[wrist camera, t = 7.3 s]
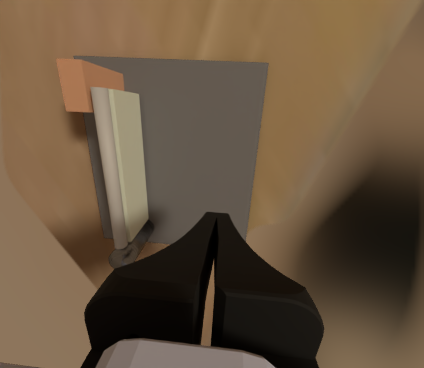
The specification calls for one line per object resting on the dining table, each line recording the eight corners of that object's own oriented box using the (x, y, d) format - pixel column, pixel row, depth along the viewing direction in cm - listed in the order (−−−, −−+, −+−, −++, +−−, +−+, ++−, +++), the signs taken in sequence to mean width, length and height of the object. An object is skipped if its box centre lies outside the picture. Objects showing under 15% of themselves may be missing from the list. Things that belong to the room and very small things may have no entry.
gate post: (156, 233, 22) (132, 272, 17) (139, 231, 23) (110, 269, 17) (155, 217, 22) (130, 253, 16) (137, 216, 22) (107, 251, 16)
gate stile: (126, 112, 18) (89, 112, 13) (109, 111, 18) (66, 110, 13) (122, 74, 17) (81, 59, 12) (104, 73, 17) (55, 58, 12)
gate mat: (244, 248, 22) (244, 251, 22) (106, 235, 23) (104, 238, 23) (267, 64, 16) (268, 62, 15) (76, 56, 17) (73, 55, 16)
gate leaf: (148, 218, 21) (125, 249, 16) (137, 217, 21) (111, 248, 16) (138, 93, 17) (103, 87, 12) (125, 93, 17) (84, 86, 12)
